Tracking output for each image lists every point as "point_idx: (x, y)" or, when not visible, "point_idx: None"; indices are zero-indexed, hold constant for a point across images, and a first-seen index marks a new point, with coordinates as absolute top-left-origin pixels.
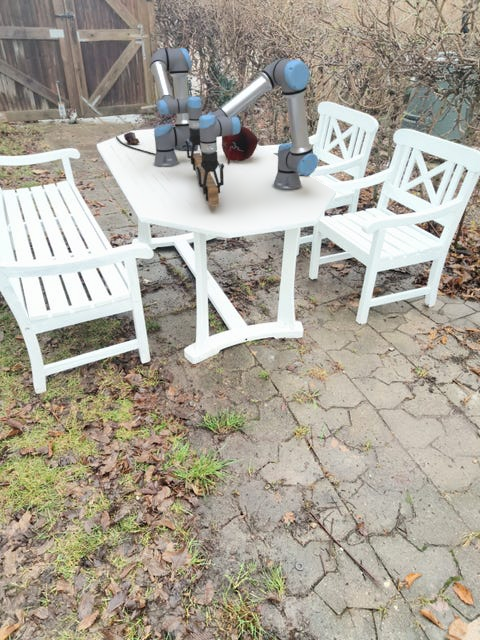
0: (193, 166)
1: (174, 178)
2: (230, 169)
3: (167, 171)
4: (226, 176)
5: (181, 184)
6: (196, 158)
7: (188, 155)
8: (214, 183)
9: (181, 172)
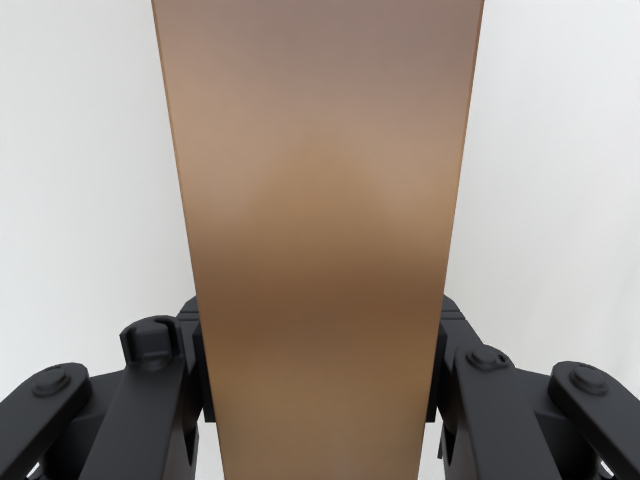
0: None
1: (561, 277)
2: None
3: None
4: (21, 229)
5: (562, 42)
6: (398, 195)
7: (631, 419)
8: None
9: None
